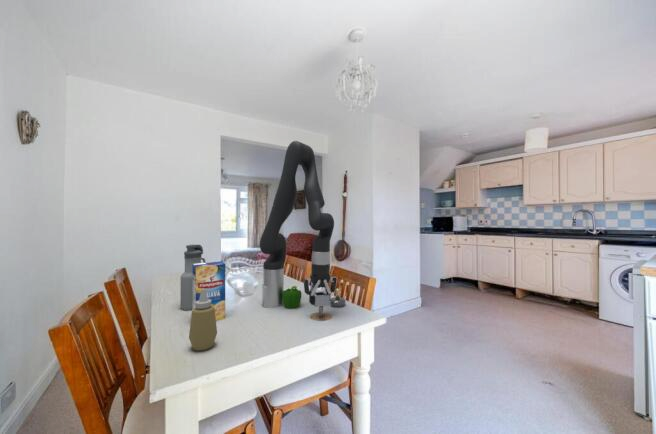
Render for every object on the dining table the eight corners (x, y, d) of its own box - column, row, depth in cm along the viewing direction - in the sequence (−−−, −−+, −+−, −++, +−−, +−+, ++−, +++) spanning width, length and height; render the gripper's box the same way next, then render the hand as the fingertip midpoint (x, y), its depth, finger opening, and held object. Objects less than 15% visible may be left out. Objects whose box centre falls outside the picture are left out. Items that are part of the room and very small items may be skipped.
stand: (314, 323, 102) (314, 308, 102) (307, 315, 110) (307, 301, 110) (335, 320, 105) (335, 305, 105) (327, 312, 114) (327, 298, 113)
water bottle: (189, 302, 126) (189, 243, 125) (209, 303, 125) (209, 243, 125) (175, 310, 115) (175, 246, 115) (196, 311, 115) (196, 246, 114)
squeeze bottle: (195, 341, 87) (195, 286, 87) (220, 340, 88) (220, 286, 88) (184, 353, 79) (184, 293, 79) (212, 352, 80) (212, 293, 80)
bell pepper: (279, 306, 120) (279, 284, 120) (295, 303, 125) (295, 282, 125) (287, 312, 113) (288, 289, 113) (304, 308, 118) (304, 286, 118)
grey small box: (315, 306, 104) (315, 296, 104) (310, 302, 109) (310, 292, 109) (329, 305, 106) (329, 295, 106) (323, 300, 112) (324, 291, 112)
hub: (331, 311, 115) (332, 292, 115) (323, 304, 124) (323, 287, 124) (352, 308, 119) (352, 290, 119) (342, 301, 128) (342, 284, 128)
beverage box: (192, 319, 106) (192, 264, 106) (220, 313, 112) (221, 261, 112) (195, 324, 100) (195, 266, 100) (225, 318, 107) (225, 263, 107)
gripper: (333, 259, 114) (332, 298, 114) (301, 261, 108) (300, 302, 108) (340, 263, 107) (339, 304, 107) (306, 264, 101) (305, 308, 101)
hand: (319, 303), depth 108 cm, fingers closed on grey small box, 6 cm apart
